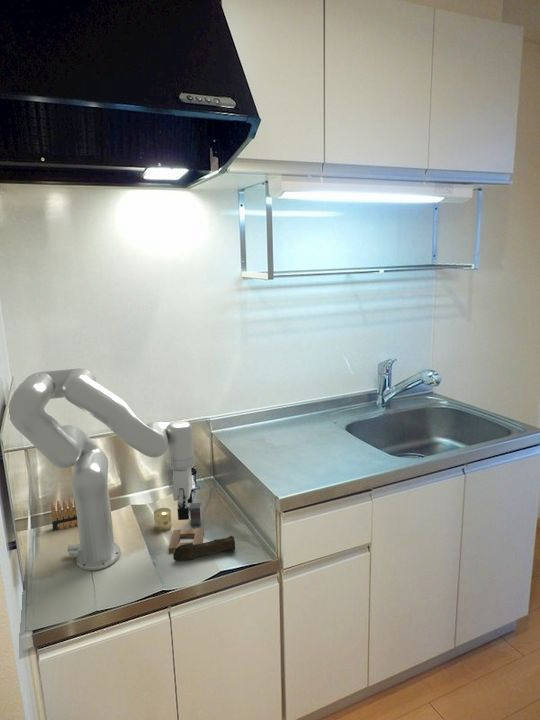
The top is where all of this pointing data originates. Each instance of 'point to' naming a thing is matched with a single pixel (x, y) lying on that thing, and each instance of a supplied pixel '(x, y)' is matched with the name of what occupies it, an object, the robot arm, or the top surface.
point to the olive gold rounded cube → (162, 519)
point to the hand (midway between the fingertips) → (185, 510)
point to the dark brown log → (203, 548)
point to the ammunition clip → (63, 515)
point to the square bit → (195, 514)
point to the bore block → (185, 533)
